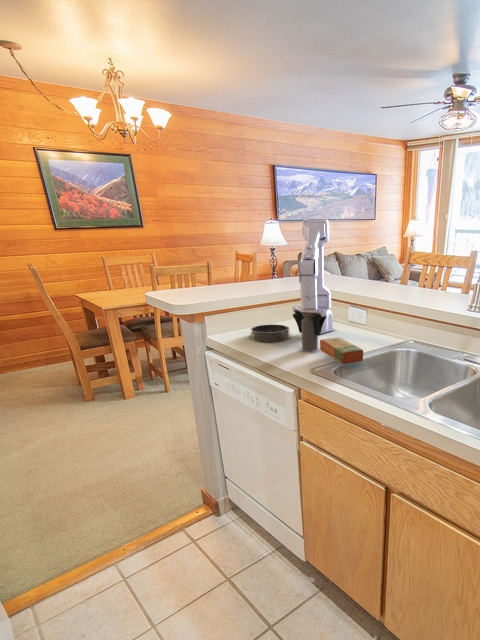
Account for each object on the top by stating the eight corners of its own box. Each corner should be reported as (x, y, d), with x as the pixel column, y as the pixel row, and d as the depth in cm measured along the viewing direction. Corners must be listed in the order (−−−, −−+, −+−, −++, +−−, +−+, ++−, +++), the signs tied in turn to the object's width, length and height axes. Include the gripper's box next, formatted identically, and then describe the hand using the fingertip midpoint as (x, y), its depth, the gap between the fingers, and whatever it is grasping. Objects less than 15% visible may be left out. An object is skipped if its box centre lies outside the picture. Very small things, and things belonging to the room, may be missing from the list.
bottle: (318, 346, 154) (319, 306, 148) (316, 350, 149) (316, 309, 142) (303, 345, 154) (303, 305, 148) (300, 349, 149) (299, 308, 143)
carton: (339, 347, 149) (340, 336, 148) (363, 361, 137) (364, 349, 135) (319, 350, 145) (319, 339, 144) (342, 364, 133) (342, 352, 131)
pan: (271, 332, 176) (270, 322, 174) (297, 337, 167) (296, 327, 166) (243, 339, 165) (242, 329, 163) (269, 344, 156) (269, 334, 155)
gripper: (285, 295, 146) (287, 333, 151) (316, 299, 138) (317, 338, 143) (299, 293, 151) (300, 329, 156) (330, 296, 143) (330, 335, 148)
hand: (309, 333), depth 150 cm, fingers open, 7 cm apart
